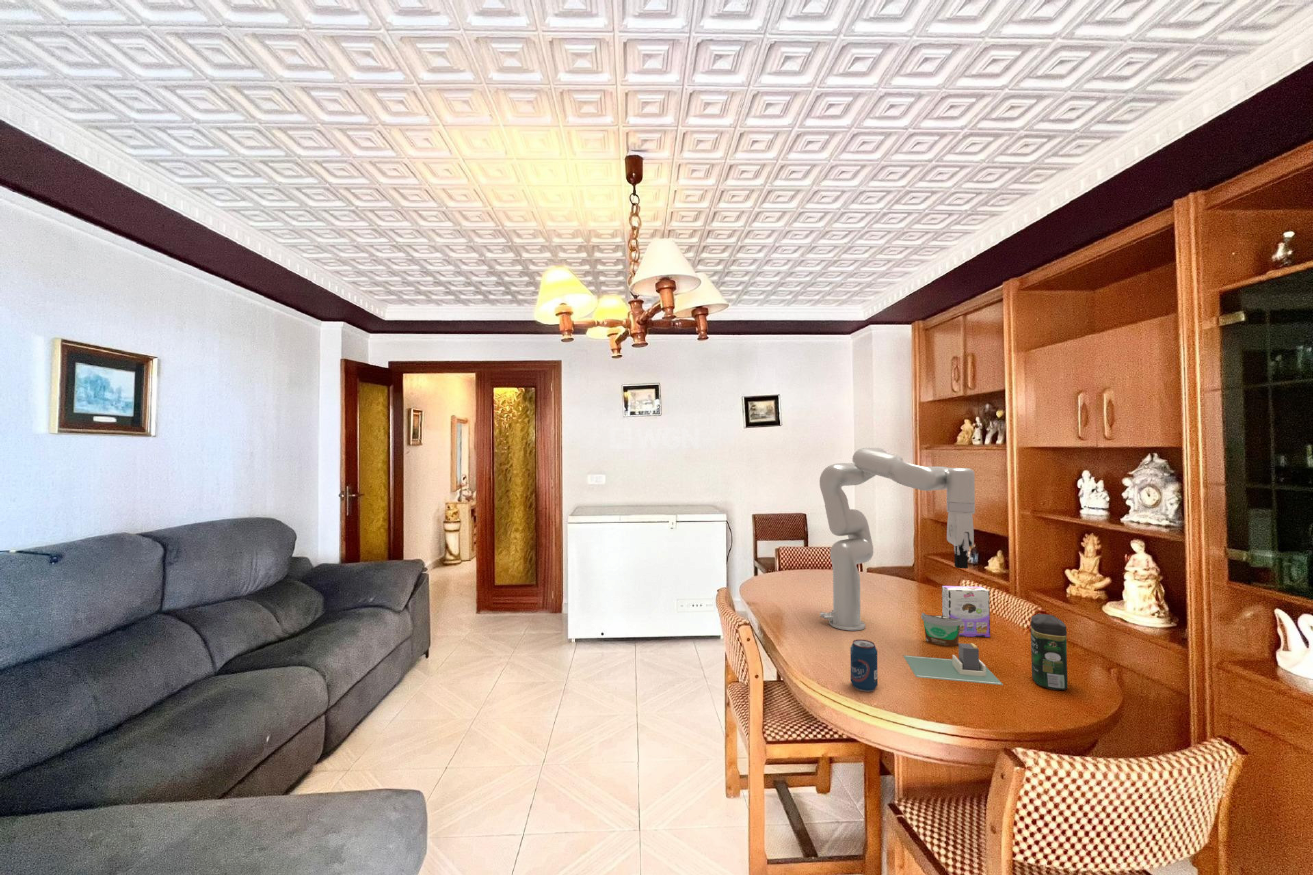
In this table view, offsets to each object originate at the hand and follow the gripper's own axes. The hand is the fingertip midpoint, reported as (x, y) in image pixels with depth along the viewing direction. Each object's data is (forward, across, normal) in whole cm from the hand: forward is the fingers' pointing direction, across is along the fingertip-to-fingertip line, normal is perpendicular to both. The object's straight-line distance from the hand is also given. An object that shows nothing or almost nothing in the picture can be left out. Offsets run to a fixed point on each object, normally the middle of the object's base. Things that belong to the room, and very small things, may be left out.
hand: (961, 567), depth 162 cm
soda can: (+29, +24, -32) cm, 50 cm away
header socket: (+28, +9, -1) cm, 29 cm away
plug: (+28, +9, -1) cm, 29 cm away
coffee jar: (+29, +10, +19) cm, 36 cm away
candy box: (+29, -28, +10) cm, 42 cm away
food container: (+29, -13, -2) cm, 32 cm away
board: (+29, +9, -6) cm, 31 cm away
